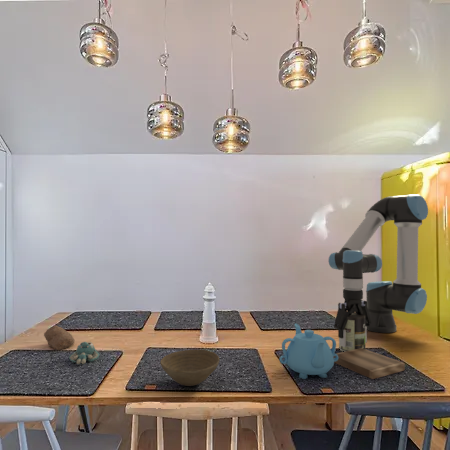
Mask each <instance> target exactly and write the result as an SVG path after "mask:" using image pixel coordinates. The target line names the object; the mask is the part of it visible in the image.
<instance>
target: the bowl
mask: <svg viewBox="0 0 450 450" xmlns="http://www.w3.org/2000/svg"><path fill="white" fill-rule="evenodd" d="M159 362H160V366H161V368H162V370H163V371H164V372H165V373H166V374H167V375H168V376H169V377H170V378H172V380H173V381H174V382H175V383H177V384H178V385H181V386H185V387H192V386H196V385H199V384H200V383H202V382H204V381H206V379H208V378H209V376H210V375H211V374H212V373H214V371H215V370H216V369H217V367H218V366H219V363H220V356H219V355H218V354H217V353H215V352H214V351H210V350H206V349H205V350H204V349H184V350H179V351H175V352H171V353H169V354H166V355H165V356H163V358H161V359H160V361H159Z"/></svg>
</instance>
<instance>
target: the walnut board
mask: <svg viewBox="0 0 450 450" xmlns="http://www.w3.org/2000/svg"><path fill="white" fill-rule="evenodd" d="M335 354H337V355H338V360H337V361H336V362H334V364H336V365H338V366H340V365H341V367H342V368H346V369H347V368H348V370H350V371H352V372H354V373H357V374H359V375H361V376H364V377H366V378H369V379H371V380H375V379H379V378H382V377H385V376H389V375H393V374H397V373H400V372H403V371H405V370H406V369H405V366H406V364H405V362H402V361H401V360H397V359H395V358H393V357H392V358H391V357H389V356H386V355H383V354H381V353H377V352H374V351H372V350H369V349H366V348H365V349H362V348H359V349H355V350H350V351H345V352H343V351H340V352H337V353H335ZM335 357H336V356H334V357H333V358H335Z"/></svg>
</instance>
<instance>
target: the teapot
mask: <svg viewBox="0 0 450 450" xmlns="http://www.w3.org/2000/svg"><path fill="white" fill-rule="evenodd" d="M294 327H295V335H294V336H293V338H291V337H289V338H288V337H287V338H286V339H284V340H283V341H282V342H281V349H282V355H281V356H280V357H279V362H280V363H281V364H283V365H286V364H287V366H288V367H289V368H290V369H291V370H292V371H293V372H296V373H298V378H299V379H301V378H302V380H306V378H307V379H308V375H309V376H310V375H311V376H316V375H317V376H318V377H320V378H321V379H323V378H325V379H326V378H328V375H327V373H328V372H329V371H330V370H332V368H333V367H334V364H335V363H334V362H336V361H337V360H338V355H337V354H336V353H335V352H336V348H337V340H335V338H333V337H331V336H323V335H320V334H319V333H315V330H312V329H305V330H304V332H302V329H301V327H300V324H298V323H294ZM327 341H331V342H332V346H331V347H330V345H329V344H328V342H327ZM288 342H289V344H288V346H287V348H286V344H287V343H288ZM334 356H336V357H335V358H333V357H334ZM283 358H284V359H283Z"/></svg>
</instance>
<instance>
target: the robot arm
mask: <svg viewBox="0 0 450 450" xmlns="http://www.w3.org/2000/svg"><path fill="white" fill-rule="evenodd" d="M428 214H429V208H428V203H427V200H425V198H424V196H422V195H421V194H411V193H410V194H404V195H403V194H402V195H401V194H400V195H393V196H392V195H389V196H386V197H383V198H381V199H380V200H378V201H377V202H375V203H374V204H373V205H371V207H370V208H369V209H368V210H367V211H366V213H365V216H364V217H365V218H363V220H362V221H361V223H359V225H358V226H357V228H356V229H355V230H354V232H353V233H352V234H351V235H350V237H349V238H348V240H347V241H346V243H345V244H344V245H343V246H342V247H341V249H340V250H339V251H338V252H332V253H331V254H330V255H329V257H328V264H329V267H330V268H331V269H333V270H338V271H343V272H342V285H343V286H342V288H344V289H342V298H343V299H344V302H338V304H337V307H338V308H337V312H336V315H335V316H336V317H335V321H334V324H333V328H335V329H337V334H338V346H339V345H340V346H343V347H346V330H344V328H345V326H346V324H347V321H348V319H347V317H350V315H352V313H354V312H355V313H356V314H358V315H365V344H366V343H367V342H368V338H367V337H368V331H370V332H375V333H380V334H381V333H382V334H384V333H386V334H390V333H395V332H397V328H398V327H397V323H396V321H395V318H394V315H393V311H396V312H403V313H406V314H414V315H417V314H421V312H423V310H424V309H425V306H426V305H427V300H428V295H427V294H428V293H427V291H426V289H424V288H423V287H422V283H421V282H420V281H419V280H418V277H419V276H418V274H419V273H418V272H419V271H418V270H419V268H418V267H419V266H418V264H419V227H421V225H422V224H423V221H424V220H426V218H427V217H428ZM390 221H393V225H394V226H396V227H397V232H396V233H397V241H396V243H397V245H396V246H397V247H396V279H394V280H393V281H391V280H384V281H371V282H367V284H366V290H365V292H366V300H364V299H363V298H364V290H363V288H364V280H363V279H364V276H363V275H364V274H366V273H367V274H368V273H371V274H372V273H377V272H378V271H381V268H382V267H383V262H382V258H381V256H379V255H377V254H373V253H369V254H366V253H365V254H363V250H364V249H365V246H366V245H367V244H368V242H369V241H370V240H371V238H372V237H373V236H374V235H375V233H376V231H377V230H378V229H379V227H382V226H384V225H385V223H386V222H390ZM344 316H345V317H344ZM341 326H342V327H341Z"/></svg>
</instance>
